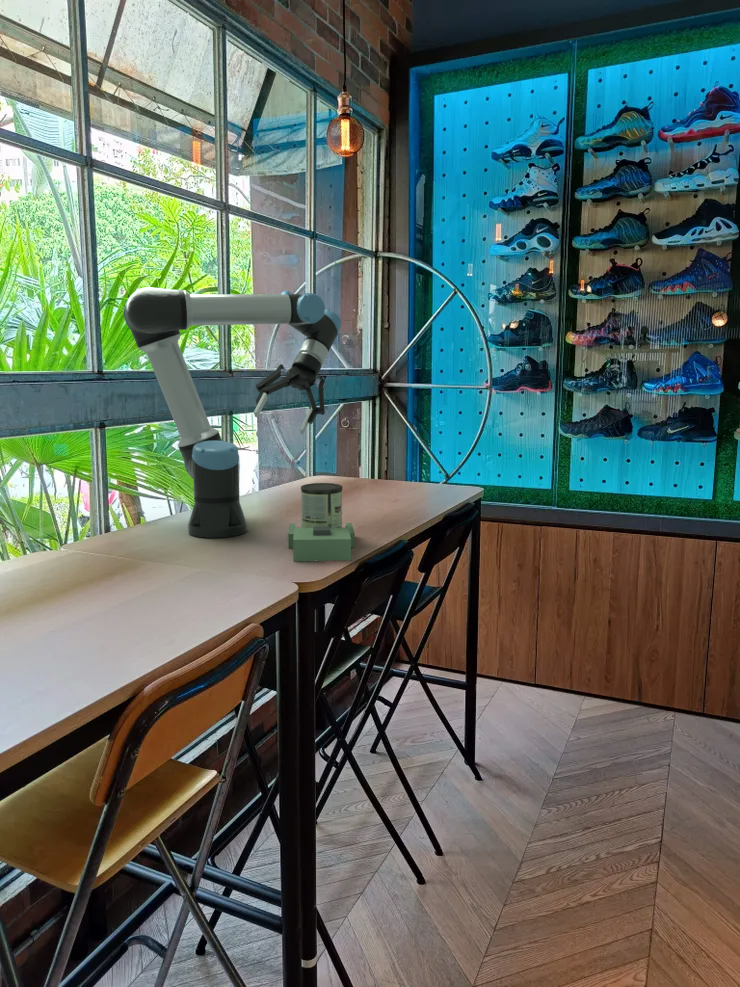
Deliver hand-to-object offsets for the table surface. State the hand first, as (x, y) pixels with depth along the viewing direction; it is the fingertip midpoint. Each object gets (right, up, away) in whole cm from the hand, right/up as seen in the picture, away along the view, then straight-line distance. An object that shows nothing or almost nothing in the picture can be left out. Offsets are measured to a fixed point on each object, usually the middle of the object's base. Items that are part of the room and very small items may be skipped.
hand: (278, 423), depth 199 cm
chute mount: (+13, -32, -20) cm, 40 cm away
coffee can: (+13, -31, -14) cm, 36 cm away
